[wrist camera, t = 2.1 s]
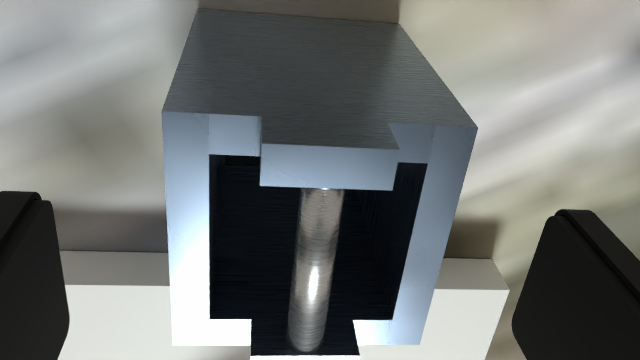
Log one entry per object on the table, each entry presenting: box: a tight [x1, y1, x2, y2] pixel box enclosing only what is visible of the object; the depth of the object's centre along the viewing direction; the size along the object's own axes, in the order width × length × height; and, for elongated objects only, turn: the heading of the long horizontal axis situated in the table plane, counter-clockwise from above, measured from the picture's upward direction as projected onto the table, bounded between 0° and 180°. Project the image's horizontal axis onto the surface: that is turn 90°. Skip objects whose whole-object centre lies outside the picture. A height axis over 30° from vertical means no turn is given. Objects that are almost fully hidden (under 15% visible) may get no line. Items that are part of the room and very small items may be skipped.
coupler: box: [162, 9, 478, 360], centre depth 12 cm, size 5×5×7 cm
